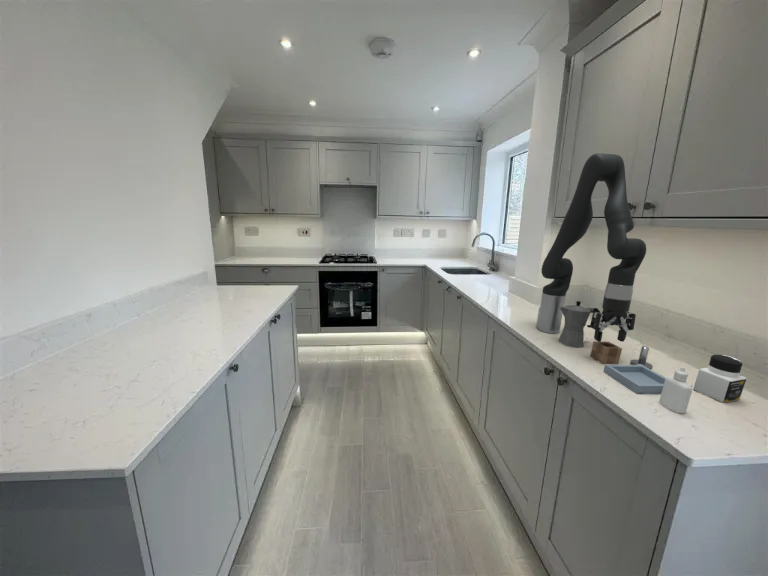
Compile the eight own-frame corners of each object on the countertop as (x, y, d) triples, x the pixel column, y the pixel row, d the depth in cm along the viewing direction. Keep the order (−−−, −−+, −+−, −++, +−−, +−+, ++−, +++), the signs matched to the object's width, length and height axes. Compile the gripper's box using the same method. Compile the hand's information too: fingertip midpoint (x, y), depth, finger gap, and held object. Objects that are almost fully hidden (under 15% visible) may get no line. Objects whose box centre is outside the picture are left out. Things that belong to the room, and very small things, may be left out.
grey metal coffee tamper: (625, 361, 109) (630, 343, 107) (641, 361, 109) (645, 343, 108) (640, 369, 103) (645, 350, 101) (657, 369, 103) (661, 350, 102)
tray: (603, 371, 101) (604, 364, 100) (640, 371, 101) (641, 364, 101) (637, 394, 88) (639, 386, 88) (678, 393, 89) (681, 385, 88)
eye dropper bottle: (677, 404, 84) (688, 364, 81) (687, 415, 79) (699, 374, 76) (657, 400, 85) (667, 361, 83) (666, 411, 80) (677, 370, 78)
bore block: (590, 356, 112) (593, 341, 111) (605, 356, 113) (608, 341, 111) (602, 364, 106) (605, 348, 105) (618, 364, 107) (622, 348, 105)
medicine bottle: (723, 403, 85) (736, 364, 82) (692, 389, 91) (703, 353, 89) (739, 400, 87) (752, 362, 84) (708, 386, 93) (719, 351, 91)
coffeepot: (558, 346, 120) (566, 303, 116) (549, 337, 130) (556, 297, 125) (600, 349, 118) (609, 306, 114) (588, 340, 127) (596, 299, 123)
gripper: (628, 294, 108) (619, 337, 111) (590, 293, 107) (582, 336, 111) (646, 299, 101) (637, 345, 104) (606, 299, 100) (597, 344, 103)
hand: (609, 340), depth 107 cm, fingers open, 8 cm apart
